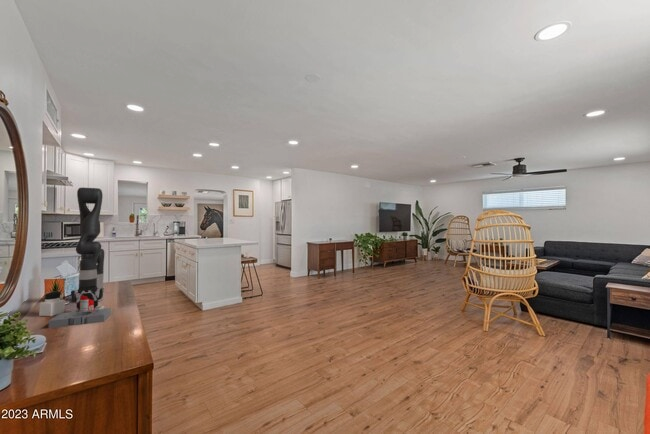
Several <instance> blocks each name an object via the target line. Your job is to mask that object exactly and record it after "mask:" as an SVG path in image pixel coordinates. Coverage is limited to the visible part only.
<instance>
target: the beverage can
mask: <svg viewBox="0 0 650 434" xmlns="http://www.w3.org/2000/svg"><path fill="white" fill-rule="evenodd" d="M94 295H95V293H94ZM79 296H80V295H79ZM94 301H95V300H94V298H93V295H92V294H91V293H90V292H88V293H87V292H86V293H83V294H82V295H81V296H80V311H87V310H95V308H94Z"/></svg>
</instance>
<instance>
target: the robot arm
mask: <svg viewBox="0 0 650 434" xmlns="http://www.w3.org/2000/svg"><path fill="white" fill-rule="evenodd" d="M103 196H104V195H103V191H102V189H101V188H96V187H79V188H77V192H76V197H77V204H78V209H79V223H80V224H79V226H80V237H79V240H78V242H77V245H76V247H75V252H76V253H77V254H78V255H81V260H80V263H79V274H78V289H73V290H71V291H70V297H71V302H72V303H75V304H76V307H75V308H76V309H77V308H78V309H80V296H81V295H82V294H83V293H86V292H87V293H88V292H90V293H91V294H92V295H93V298H94V300H95V301H94V308H96V307H97V306H99V302H101V301H103V300H104V299H103V298H104V291H105V288H104V264H105V262H104V261H105V250H104V249H103V248H102V244H101V242H100V241H95V240H96V239H97V238H98V236H99V235H100V234H101V221H100V220H99V219H100V216H101V215H100V214H101V210H102V203H103ZM88 204H90V205H91V204H92V205H93V204H94V206H93V209H92V210H91V209H89V207H88ZM94 293H95V295H94ZM77 294H79V296H78V298H77Z"/></svg>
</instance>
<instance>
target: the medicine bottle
mask: <svg viewBox="0 0 650 434" xmlns="http://www.w3.org/2000/svg"><path fill="white" fill-rule="evenodd" d="M65 307H66V300H65V299H63V298H61V291H57V290H55V291H48V292H46V293H45V294H44V301H41V302H39V316H40V317H55V316H57V315H58V314H60V313H65V312H66V311H65Z"/></svg>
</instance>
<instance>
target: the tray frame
mask: <svg viewBox="0 0 650 434" xmlns="http://www.w3.org/2000/svg"><path fill="white" fill-rule="evenodd" d="M97 309H105V305H98V306H97V307H96V308H95V310H97ZM72 312H80V309H78V308H76V309H74V310H73V311H72Z"/></svg>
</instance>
